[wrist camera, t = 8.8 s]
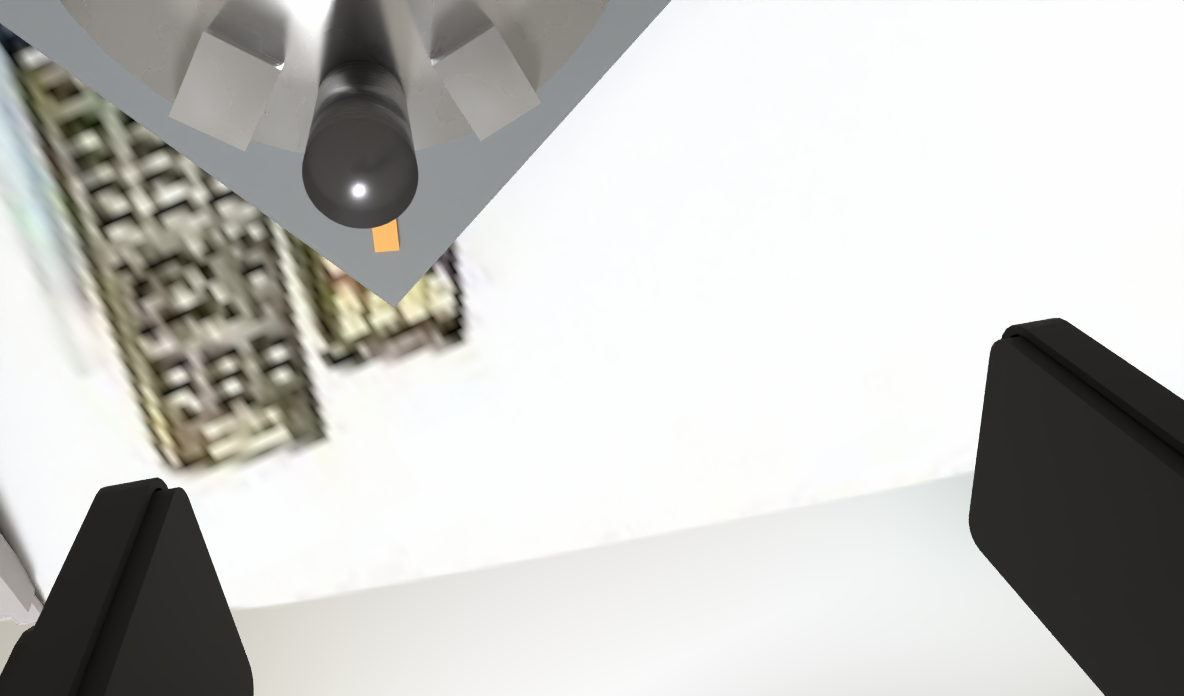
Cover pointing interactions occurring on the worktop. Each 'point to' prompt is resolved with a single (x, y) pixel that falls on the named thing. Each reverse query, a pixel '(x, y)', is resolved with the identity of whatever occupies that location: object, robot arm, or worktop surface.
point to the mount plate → (274, 176)
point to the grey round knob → (344, 78)
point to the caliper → (16, 588)
